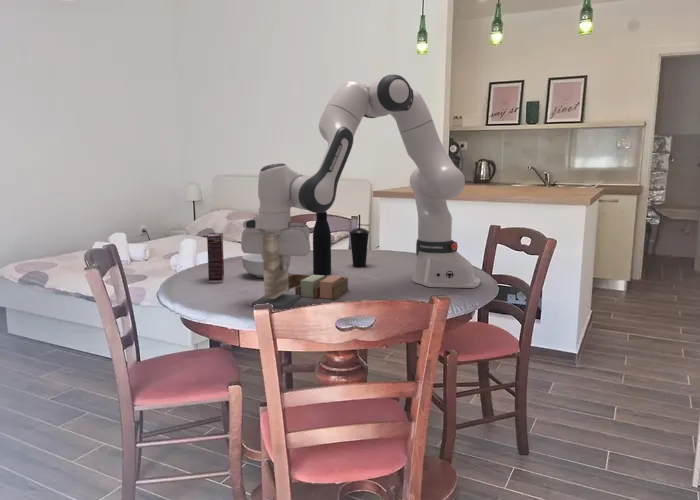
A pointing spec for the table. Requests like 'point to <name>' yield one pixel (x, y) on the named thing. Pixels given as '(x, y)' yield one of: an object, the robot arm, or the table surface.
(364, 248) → the drinking cup
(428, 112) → the robot arm
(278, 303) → the slate mat
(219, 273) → the supplement box
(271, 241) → the beige mottled block
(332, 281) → the terracotta offcut
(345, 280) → the offcut rack
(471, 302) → the table surface
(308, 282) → the sage offcut
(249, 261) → the cereal bowl
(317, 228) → the wine bottle
